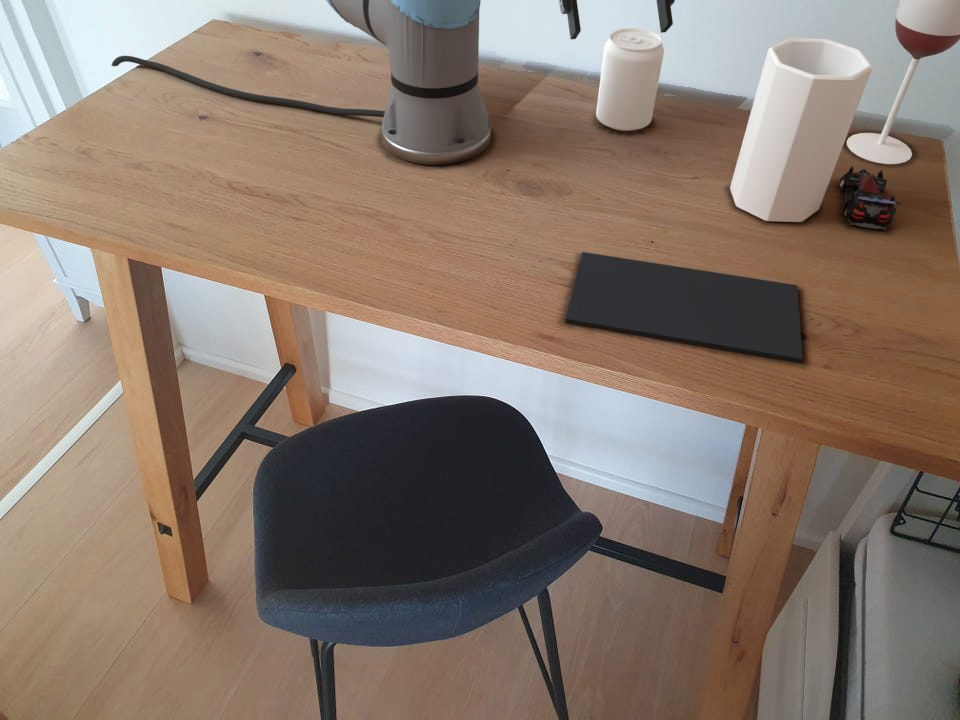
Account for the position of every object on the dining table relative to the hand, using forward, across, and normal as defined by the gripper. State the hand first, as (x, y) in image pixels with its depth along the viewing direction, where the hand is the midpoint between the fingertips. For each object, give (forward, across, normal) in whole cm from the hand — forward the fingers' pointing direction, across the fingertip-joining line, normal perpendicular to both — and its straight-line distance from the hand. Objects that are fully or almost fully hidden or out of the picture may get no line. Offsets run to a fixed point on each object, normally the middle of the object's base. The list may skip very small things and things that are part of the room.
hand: (621, 32), depth 109 cm
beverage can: (+12, 0, -4) cm, 12 cm away
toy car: (+30, -23, +15) cm, 41 cm away
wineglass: (+22, -33, +6) cm, 40 cm away
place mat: (+40, +7, +25) cm, 48 cm away
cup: (+28, -12, +13) cm, 33 cm away
